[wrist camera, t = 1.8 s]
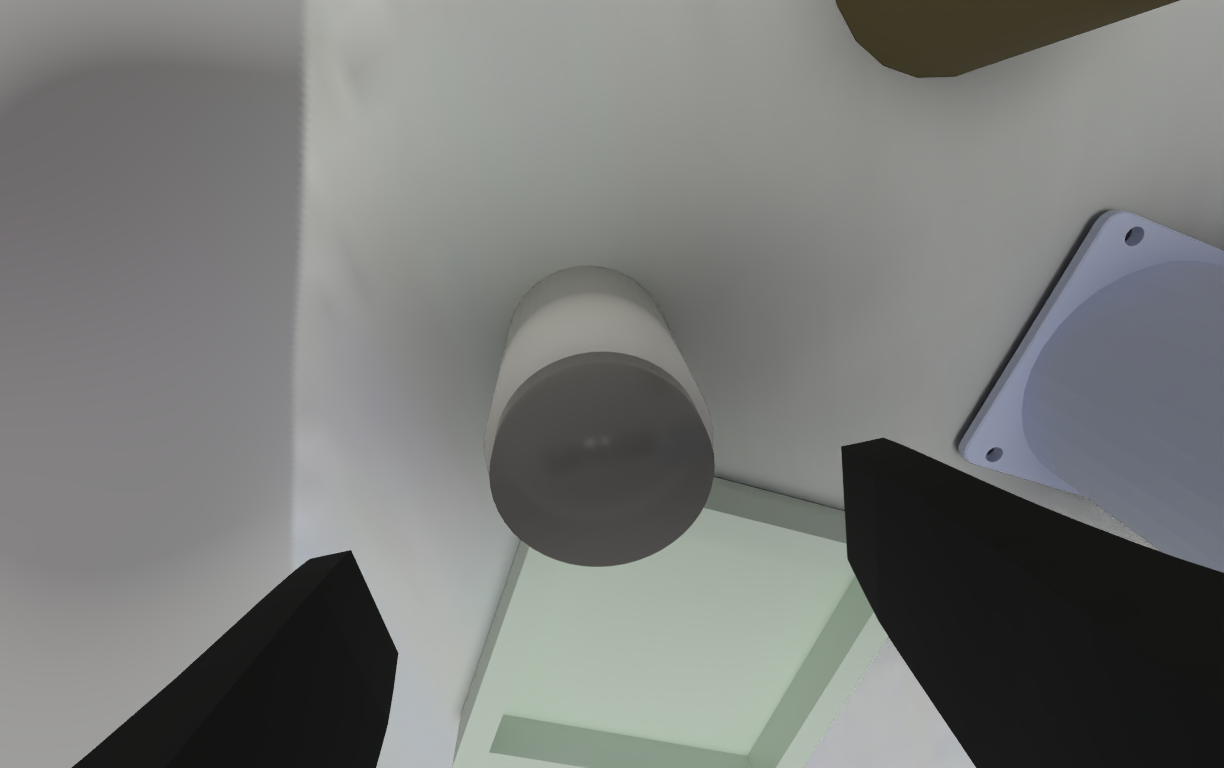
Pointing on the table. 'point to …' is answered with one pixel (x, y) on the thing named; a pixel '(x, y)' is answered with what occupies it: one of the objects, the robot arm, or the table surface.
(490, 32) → the table surface
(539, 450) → the salt shaker
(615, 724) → the tray
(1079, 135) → the table surface
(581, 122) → the table surface
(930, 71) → the cork
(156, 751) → the robot arm
